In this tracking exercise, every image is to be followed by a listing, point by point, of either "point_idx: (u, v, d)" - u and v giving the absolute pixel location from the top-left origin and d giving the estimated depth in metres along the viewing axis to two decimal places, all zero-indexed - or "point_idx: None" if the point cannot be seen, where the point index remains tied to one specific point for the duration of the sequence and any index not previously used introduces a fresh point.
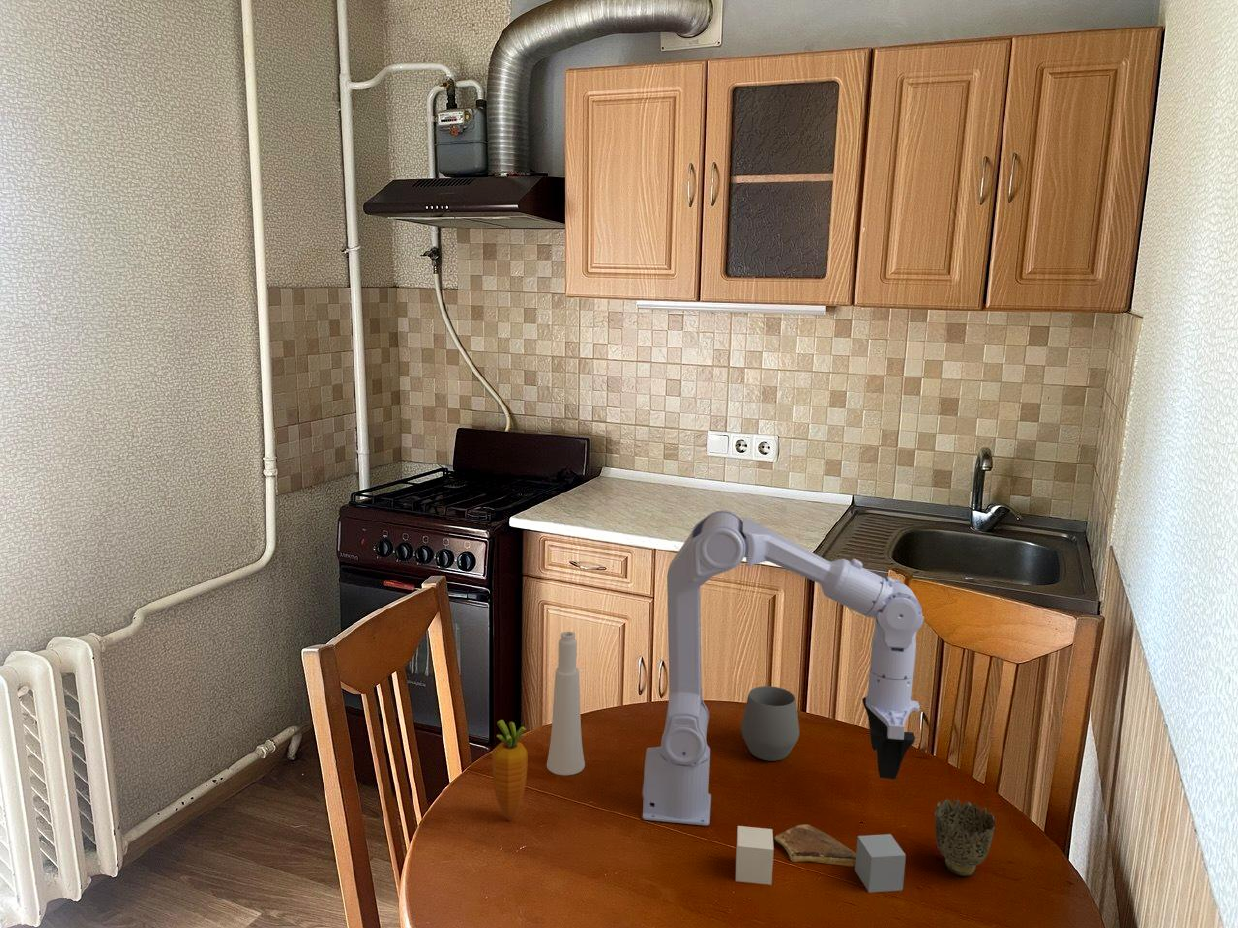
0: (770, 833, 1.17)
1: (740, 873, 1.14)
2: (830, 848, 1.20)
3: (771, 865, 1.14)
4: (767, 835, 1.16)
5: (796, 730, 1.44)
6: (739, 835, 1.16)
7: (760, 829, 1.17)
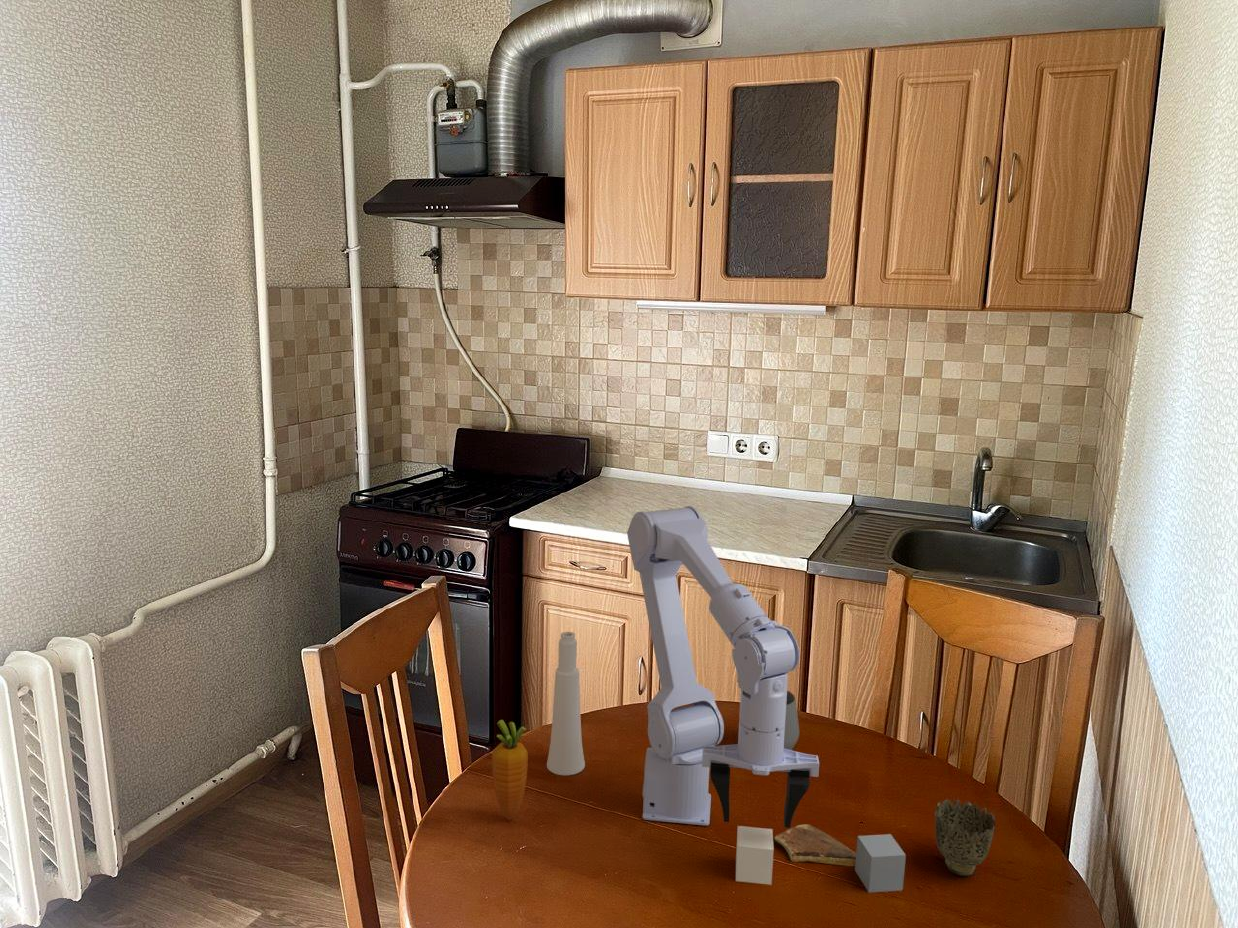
0: (770, 833, 1.17)
1: (740, 873, 1.14)
2: (830, 848, 1.20)
3: (771, 865, 1.14)
4: (767, 835, 1.16)
5: (796, 730, 1.44)
6: (739, 835, 1.16)
7: (760, 829, 1.17)
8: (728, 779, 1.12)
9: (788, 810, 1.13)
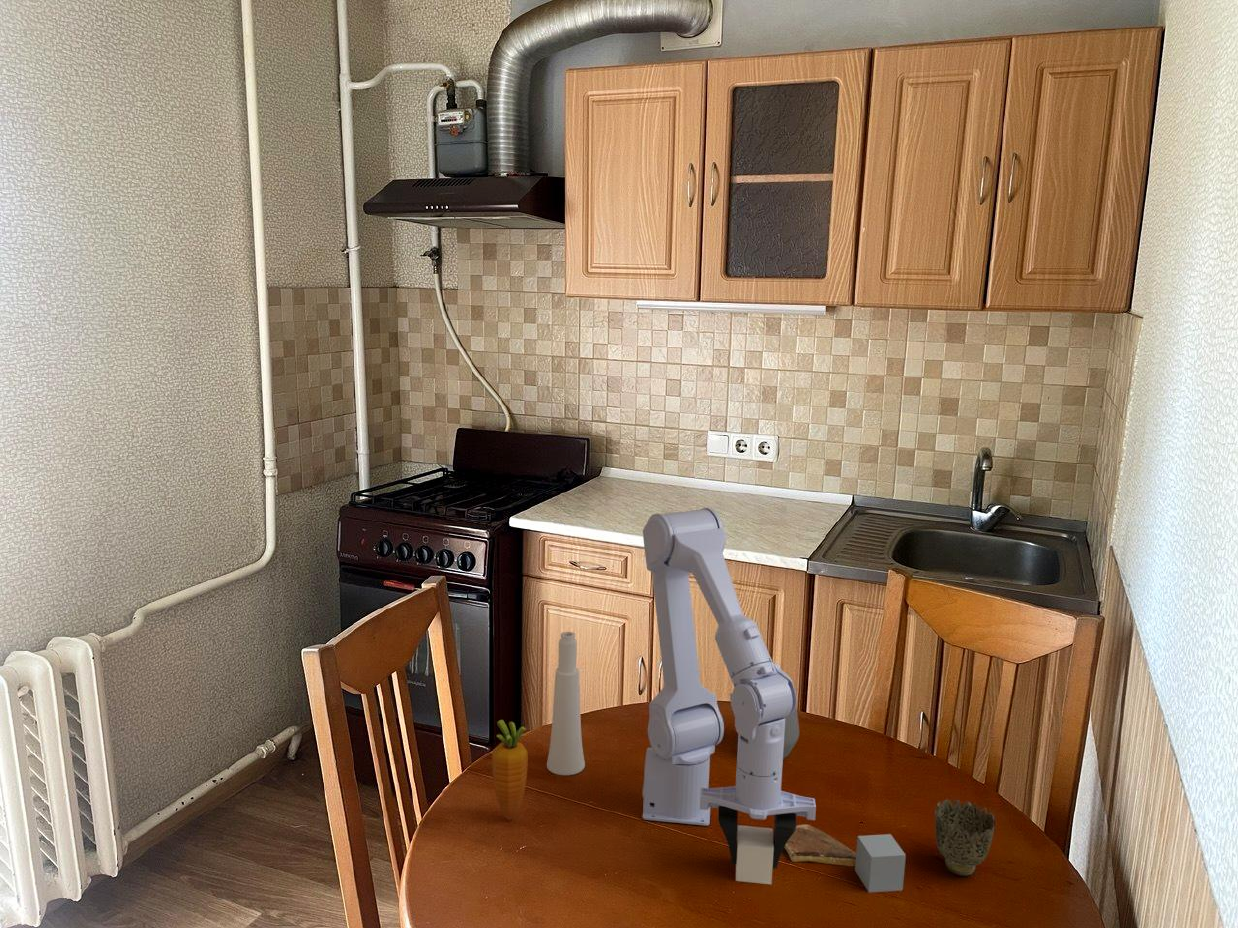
0: (770, 832, 1.17)
1: (740, 872, 1.14)
2: (830, 847, 1.20)
3: (771, 864, 1.14)
4: (768, 834, 1.16)
5: (796, 730, 1.44)
6: (739, 834, 1.16)
7: (760, 828, 1.17)
8: (736, 823, 1.13)
9: (775, 851, 1.14)
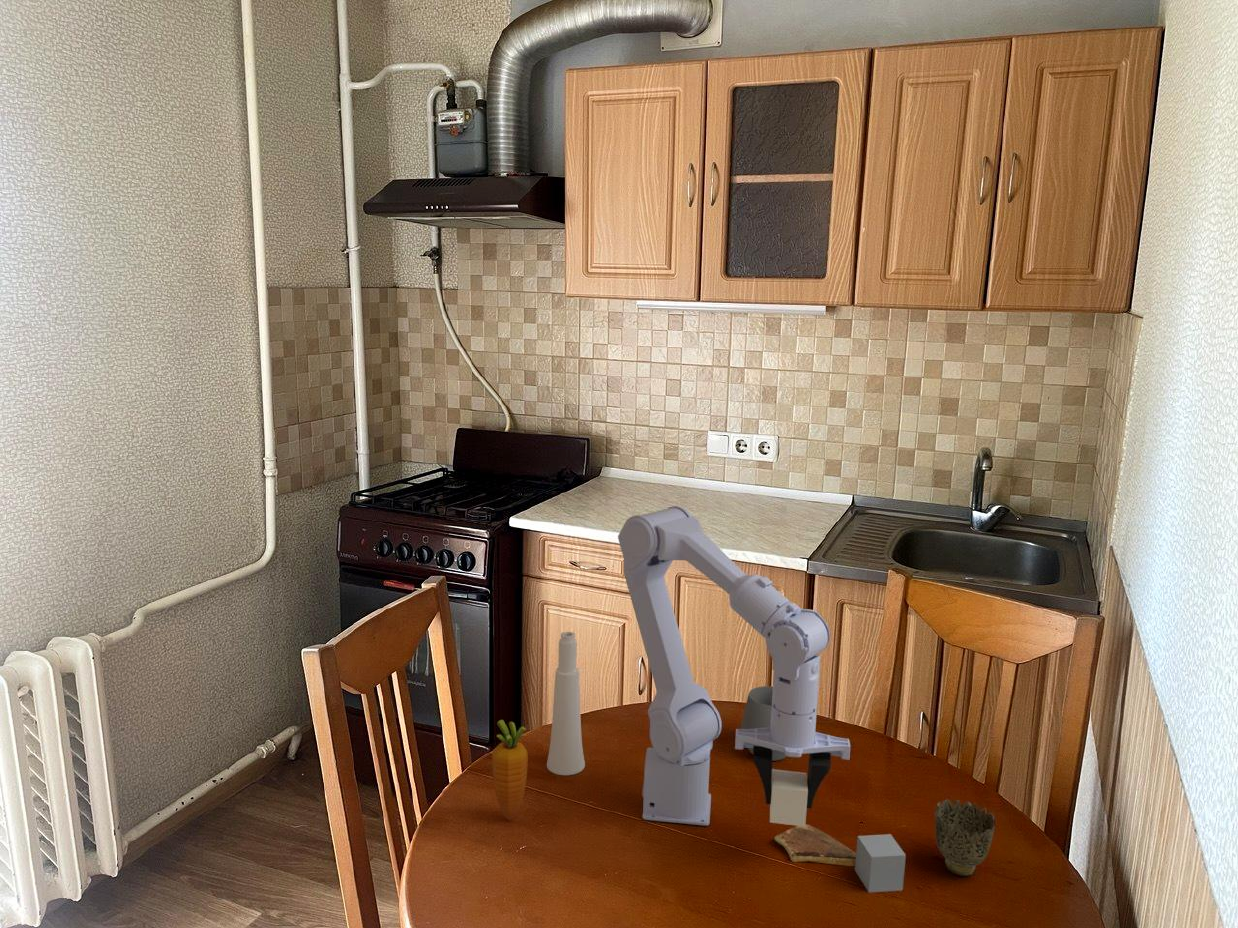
0: (805, 776, 1.18)
1: (774, 814, 1.15)
2: (830, 848, 1.20)
3: (805, 806, 1.15)
4: (802, 778, 1.17)
5: None
6: (773, 777, 1.17)
7: (794, 772, 1.18)
8: (771, 762, 1.14)
9: (810, 791, 1.15)
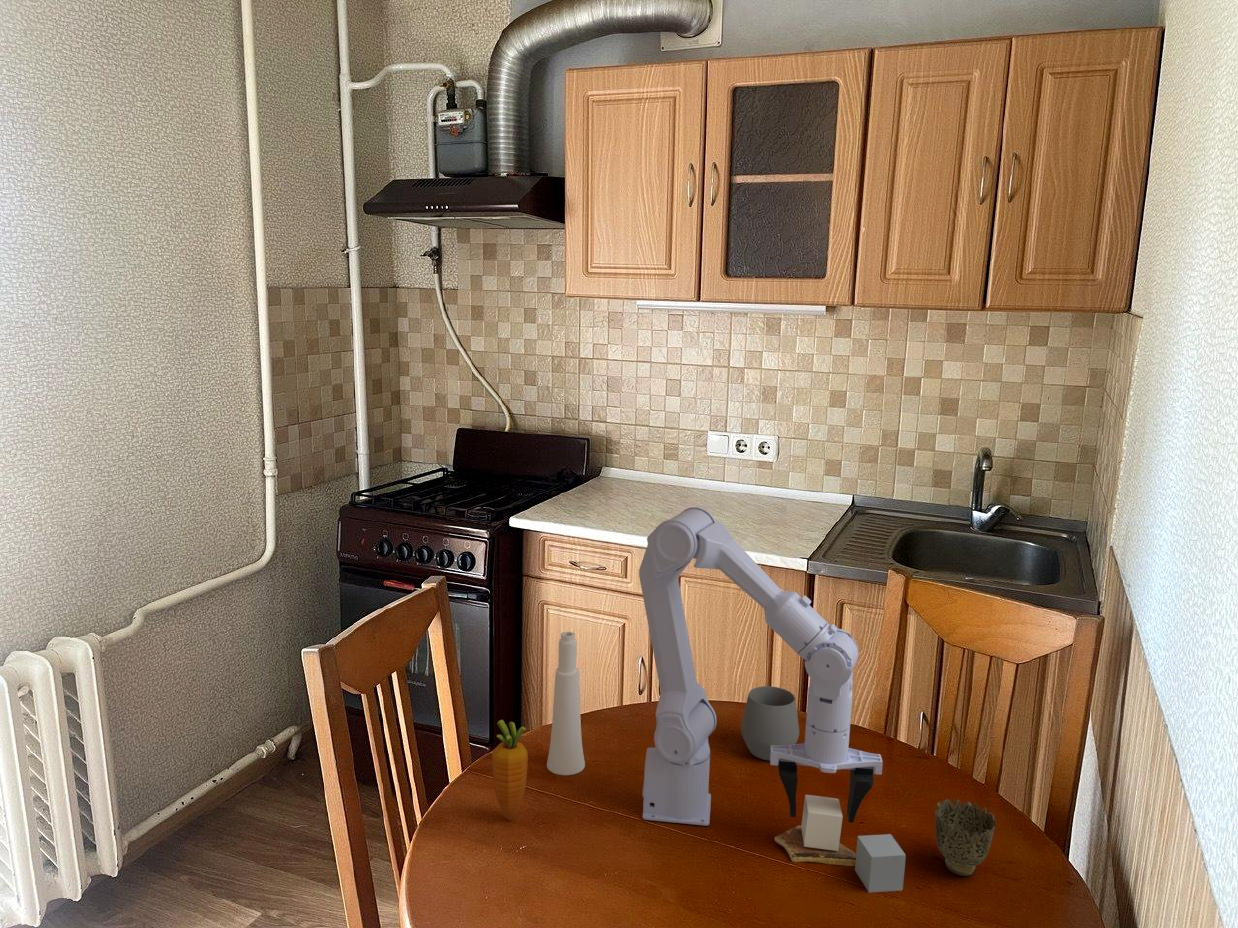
0: (837, 802, 1.22)
1: (809, 838, 1.20)
2: None
3: (839, 832, 1.19)
4: (835, 804, 1.21)
5: (796, 730, 1.44)
6: (808, 803, 1.21)
7: (827, 798, 1.23)
8: (796, 776, 1.18)
9: (852, 806, 1.19)
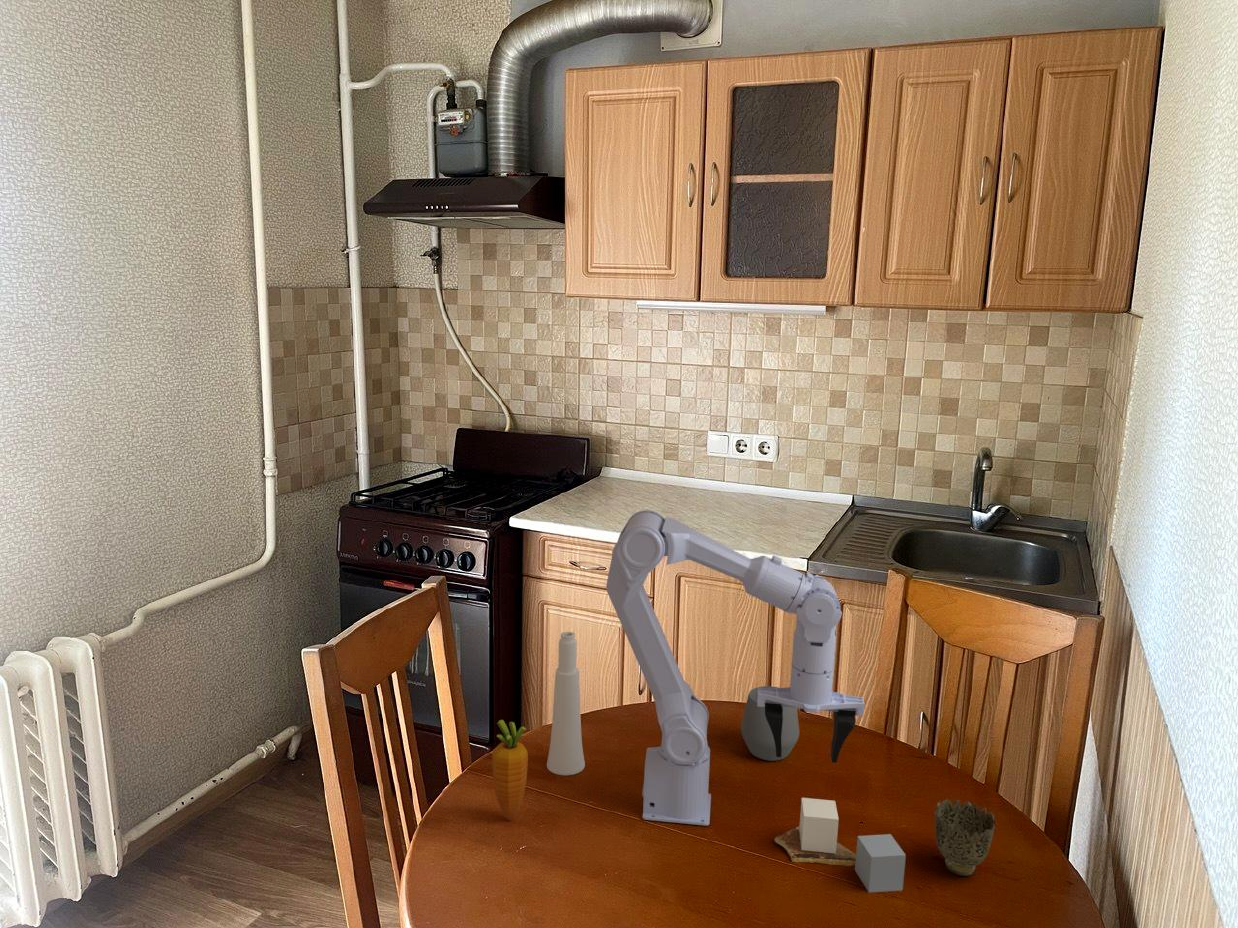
0: (834, 804, 1.22)
1: (806, 842, 1.19)
2: None
3: (836, 834, 1.19)
4: (831, 806, 1.21)
5: (796, 730, 1.44)
6: (804, 806, 1.21)
7: (823, 801, 1.22)
8: (781, 717, 1.24)
9: (835, 746, 1.24)
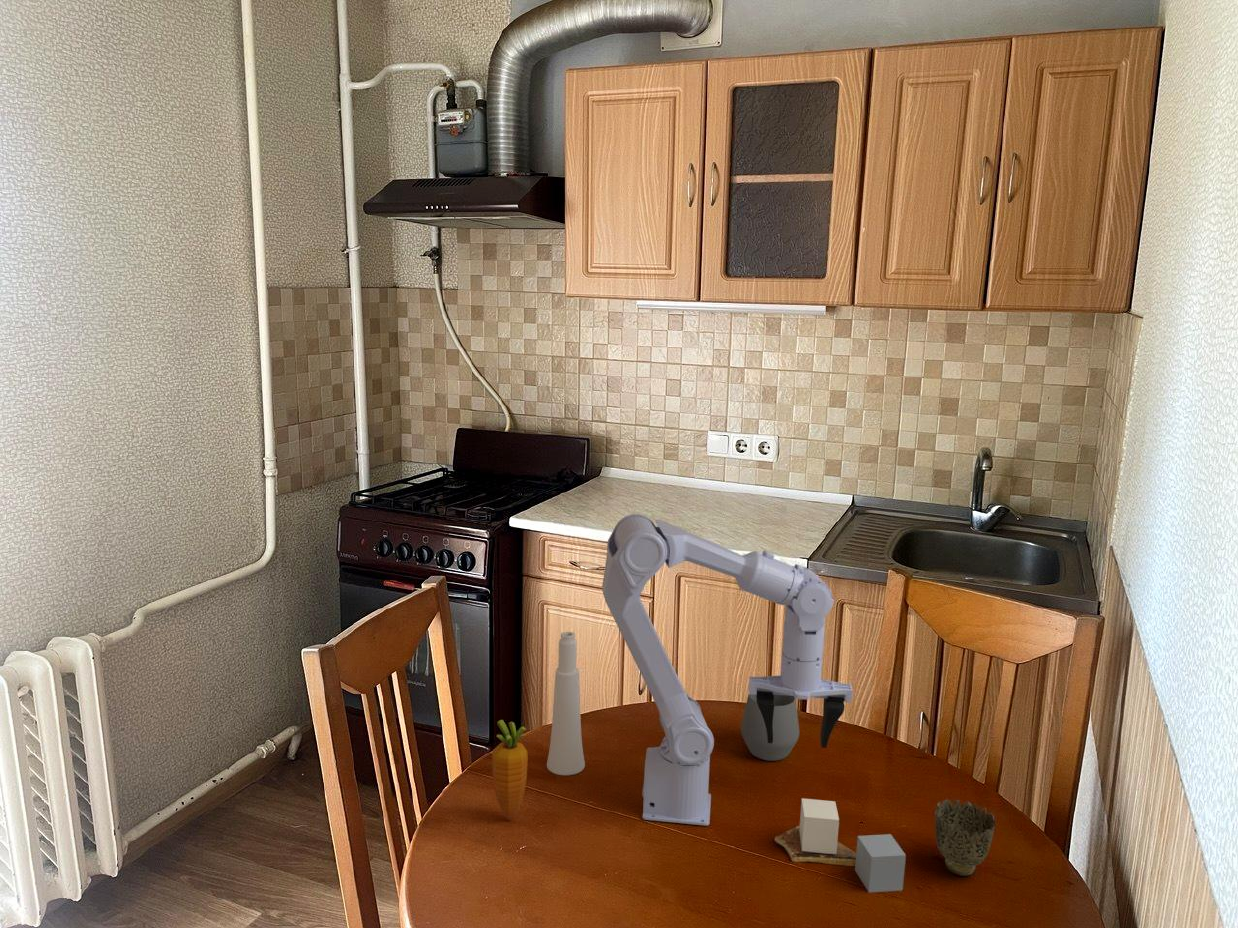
0: (834, 804, 1.21)
1: (806, 843, 1.19)
2: None
3: (836, 835, 1.18)
4: (831, 807, 1.21)
5: (796, 730, 1.44)
6: (804, 807, 1.21)
7: (824, 801, 1.22)
8: (772, 704, 1.27)
9: (825, 732, 1.28)
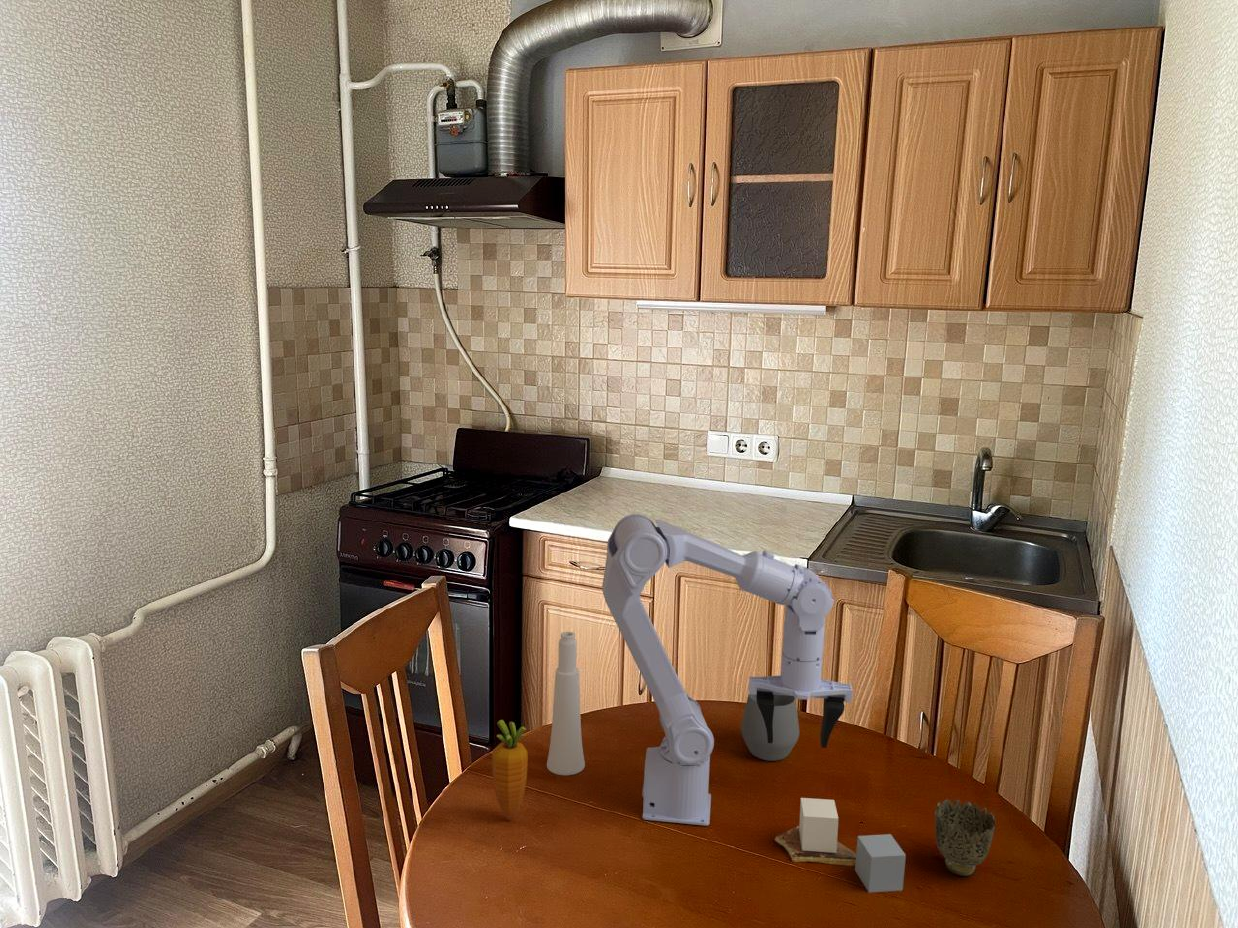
0: (833, 803, 1.22)
1: (806, 842, 1.19)
2: None
3: (836, 833, 1.18)
4: (831, 805, 1.21)
5: (796, 730, 1.44)
6: (803, 806, 1.21)
7: (823, 800, 1.22)
8: (772, 704, 1.27)
9: (825, 732, 1.28)
